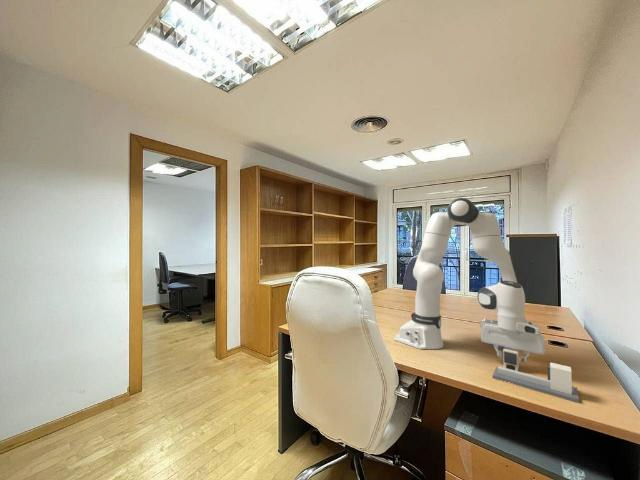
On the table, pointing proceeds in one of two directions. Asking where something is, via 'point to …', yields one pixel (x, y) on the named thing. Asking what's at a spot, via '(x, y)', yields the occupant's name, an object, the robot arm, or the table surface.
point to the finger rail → (537, 387)
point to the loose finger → (511, 357)
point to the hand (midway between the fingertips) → (511, 358)
